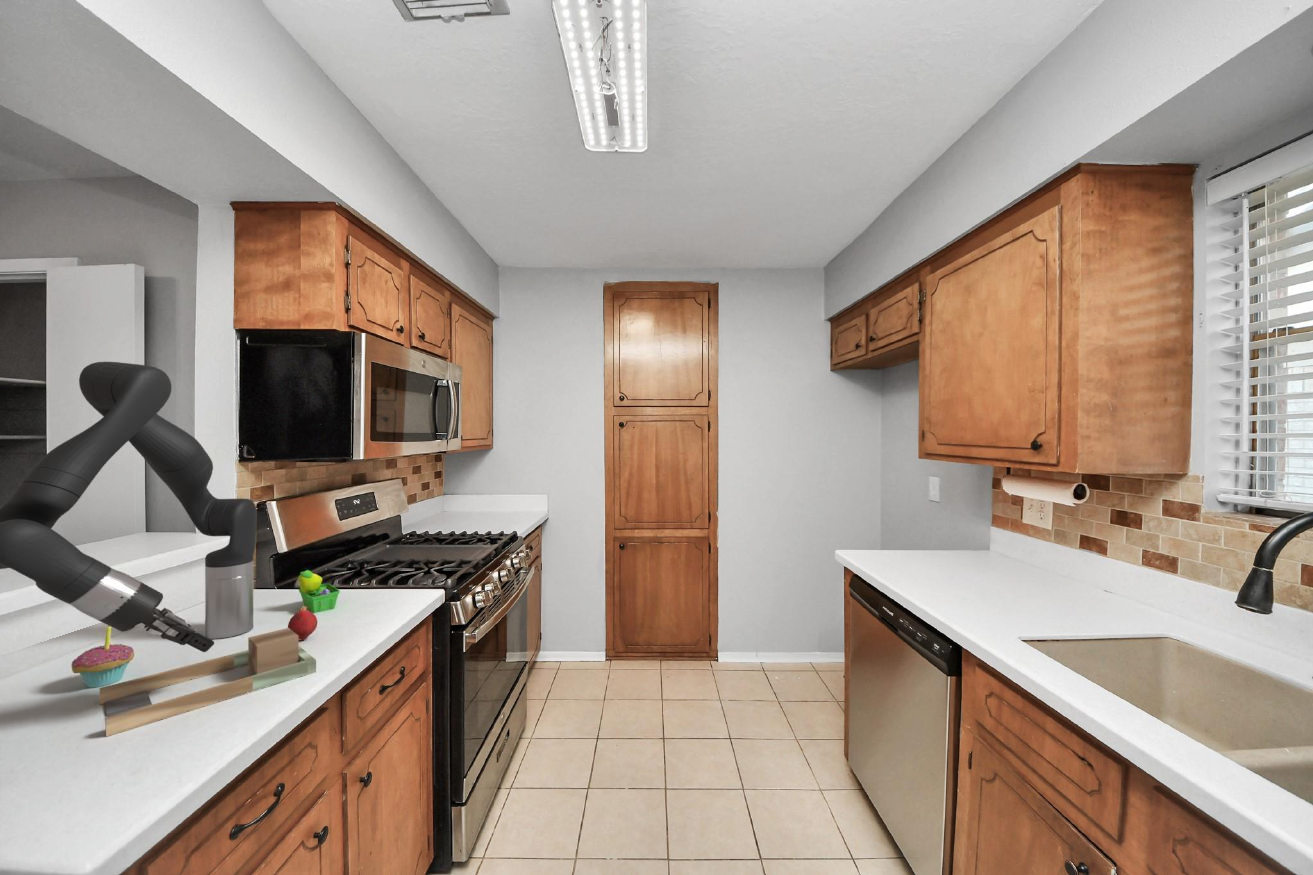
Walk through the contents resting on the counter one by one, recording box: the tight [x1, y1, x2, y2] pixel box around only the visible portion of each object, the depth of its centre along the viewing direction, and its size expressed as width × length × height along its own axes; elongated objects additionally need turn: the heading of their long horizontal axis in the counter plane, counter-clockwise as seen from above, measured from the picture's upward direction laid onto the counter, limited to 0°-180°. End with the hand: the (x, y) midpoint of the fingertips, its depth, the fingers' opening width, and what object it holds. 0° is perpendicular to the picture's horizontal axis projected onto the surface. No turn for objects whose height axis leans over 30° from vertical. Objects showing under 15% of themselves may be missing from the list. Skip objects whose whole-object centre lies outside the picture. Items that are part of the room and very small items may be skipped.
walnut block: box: [247, 627, 300, 676], centre depth 106 cm, size 7×7×7 cm
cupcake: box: [71, 625, 135, 688], centre depth 101 cm, size 9×8×12 cm
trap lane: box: [99, 645, 317, 737], centre depth 99 cm, size 17×30×2 cm, turn 140°
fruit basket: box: [297, 569, 341, 614], centre depth 144 cm, size 11×9×11 cm
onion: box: [287, 605, 318, 641], centre depth 121 cm, size 6×6×8 cm
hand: (209, 646), depth 98 cm, fingers closed
